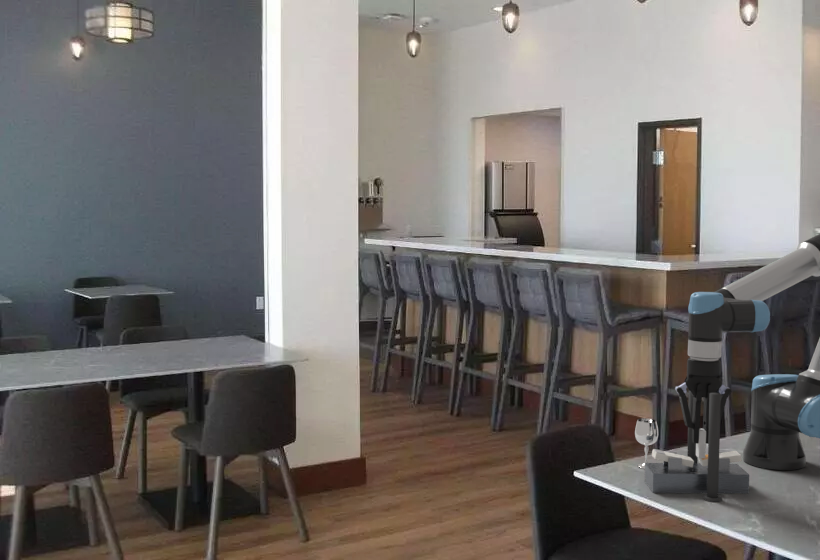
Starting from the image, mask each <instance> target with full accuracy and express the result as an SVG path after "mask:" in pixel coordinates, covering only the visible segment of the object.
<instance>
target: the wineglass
mask: <svg viewBox="0 0 820 560" xmlns="http://www.w3.org/2000/svg"><path fill="white" fill-rule="evenodd" d="M634 436H635V440H636V441H637V442H638V443H639V444H641V445H643V446H644V450H643V451H644V453H645V455H644V459H645V460H644V462H643V463H639V464H637V465H638V467H637V468H639V467H640V469H643V470H645V463H649V462H648V452H649V446H650V445H651V446H652V445H654V444H655V443H656V442H658V438H659V427H658V423H657V420H656V419H653V418H638V419H637V421H636V425H635V430H634Z"/></svg>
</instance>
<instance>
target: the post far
mask: <svg viewBox="0 0 820 560" xmlns="http://www.w3.org/2000/svg"><path fill="white" fill-rule="evenodd" d="M688 407H689V411H690V416H691V421H692V414H693V395H692V394H691V392H690V391H689V390H688ZM686 456H688V457H691V458H692V460H693V461H694V463H699V459H698V457H697V456H696V443H694V442H693V441H692V428H689V427H687V455H686Z"/></svg>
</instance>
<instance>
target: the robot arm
mask: <svg viewBox="0 0 820 560" xmlns="http://www.w3.org/2000/svg"><path fill="white" fill-rule="evenodd" d="M812 276H813V277H820V233H819V234H816V235H815V236H812V237H811V238H808V239H807V240H805V241H803V242H800V243H799V244H798V245H797V248H796V250H794V251H792V252H789V253H787V254H786V255H784V256H782V257H780V258H779V259H776V260H774V261H773V262H770V263H768V264H766V265H764V266H763V267H761V268H759V269H756V270H755V271H753V272H751V273H749V274H747V275H745V276H743V277H741V278H739V279H737V280H735V281H734V282H732V283H729V284H728V285H725V286H723V287H721V288H720V289H718V290H715V291H695V292H693V293H692V294H691V295H690V298H689V304H688V308H687V309H688V330H687V331H688V337H687V339H688V340H687V356H689V357H688V359H687V361H686V362H687V363H686V376H685V378H684V381H683V382H682V383H681V384H680V385H675V386H674V390H675V392H676V393H677V396H678V397H679V398H678V399H679V402H680V408H681V413H682V417H683V422H684V425H685V426H686V427H687V428H688V427H689V428H692V441H693V442H694V443H696V456H697V457H698V458H705V455H706V450H707V449H706V447H707V445H708V436H709V394H710V393H720V394H721V404H720V422H721V421H722V417H723V414H724V409H725V406H726V403H727V399H728V398H729V397H730V395H731V394H732V392H733V391H732V389H731V388H730V387H728V386H726V385H724V384H723V381H722V379H721V373H722V372H721V369H722V368H721V367H722V366H721V365H722V361H721V357H722V346H723V345H722V341H723V334H724V333H754V332H763V331H765V330H766V329H767V328H768V326H769V325H770V322H771V321H770V320H771V317H770V316H771V312H770V309H769V306H768V305H767V303H765V302H764V301H765V300H767V299H769V298H771V297H774V296H775V295H777V294H779V293H780V292H783V291H784V290H786V289H788V288H790V287H793V286H794V285H796V284H798V283H800V282H802V281H804V280H806V279H808V278H810V277H812ZM687 390H688V392H689V391H690V392H691V394H692V395H693V414H692V421H691V416H690V411H689V407H688V406H689V401H688V398H687V395H686V394H687V393H688V392H687ZM750 391H751V411H750V412H751V415H750V417H751V418H750V424H751V425H750V433H749V436H748V438H747V441H746V443H745V445H744V448H743V453H742V460H743V462H744V463H746V464H748V465H750V466H755V467H757V468H762V469H769V470H776V471H791V470H793V471H794V470H800V469H804V468H805V467H806V463H807V462H806V460H807V459H806V456H807V455H806V453H805V450H804V446H803V443H802V440H801V437H800V433H801V434H804V435H805V436H807V437H810V438H817V439H820V337H819V339H818V341H817V344H816V347H815V349H814V351H813V355H812V357H811V360H810V363H809V366H808V369H806V370H804V371H803V372H800V373H798V374H792V373H791V374H790V373H785V374H782V373H778V374H777V373H776V374H759V375H756V376H755V377H754V378H753V379H752V385H751V390H750ZM702 398H703V399H702ZM702 401H703V415H702V416H703V418H702V419H703V420H702V421H703V423H702V428H701V413H702V412H701V411H702ZM706 444H707V445H706Z"/></svg>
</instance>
